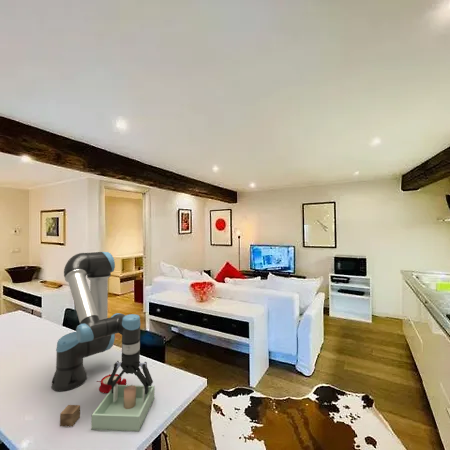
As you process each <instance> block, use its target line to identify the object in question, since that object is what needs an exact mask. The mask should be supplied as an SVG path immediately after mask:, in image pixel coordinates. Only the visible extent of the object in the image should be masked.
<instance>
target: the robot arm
mask: <svg viewBox="0 0 450 450" xmlns="http://www.w3.org/2000/svg"><path fill="white" fill-rule="evenodd" d="M115 262H116V261H115V259H114V256H113V255H112V254H111V252H109V251H97V252H95V251H94V252H79V253H76V254H74V255H73V256H72V257H70V258H69V259H68V260H67V262H66V264H64V265H65V266H64V268H63V276H64V280H65V281H66V282H67V283H68V287H69V289H70V292H71V296H72V300H73V303H74V308H75V310H76V315H77V317H78V321H79V325H77V326H76V328H75V331H73V332H69V333H67V334H64V335H63V336H61V337H60V338H59V339H58V340H57V342H56V348H55V349H56V350H55V351H56V358H55V359H56V360H55V361H56V363H55V365H56V366H55V372H54V375H53V377H52V380H51V390H53V391H55V392H67V391H70V390H71V391H72V390H74V389H76V388H78V387H80V386H82V385H83V384H84V383H85V382H86V380H87V377H88V376H87V371H86V368H85V365H84V359H85V358H87V357H91V356H94V355H97V354H99V353H104V352H106V351H108V350H111V348H112V347H113V346H114V344H115V337H116V336H115V335H116V334H119V335H121V362H120V361H119V360H117V361H115V363H114V364H113V370H112V372H111V373H110V374H111V376H110V378H109V380H108V382H107V385H111V386H112V390H111V392H112V393H113V402H115V401H116V400H117V399H118V383H116V382H117V381H118V380H119V379H120V377H121V378H122V376H123V375H124V374H126V375H129V374H131V375H135V376H136V377H137V379H139V381H140V383H141V384H142V386H144V387H143V401H142V403H144V402H145V400H146V394H147V393H148V391H149V386H153V383H154V381H153V380H154V379H153V378H152V375H151V373H150V371H149V368H148V362H147V361H144V362H141V361H140V354H141V351H140V350H141V349H140V348H141V317H140V315H139V314H135V313H133V314H132V313H130V314H126V315H125V314H123V313H118V312H117V313H114V314H113V315H111V317H108V295H109V294H108V293H109V292H108V291H109V290H108V288H109V286H108V279H109V278H110V277H111V273H113V272H114V270H115V268H116V263H115ZM87 279H88V280H89V283H90V284H88V281H87ZM89 285H90V286H89ZM119 368H121V369H122V370H121V372H119V374H118V377H117V378H116V379H115V380H114V381H112V380H113V378H114V376H115V374H117V371H118V369H119ZM141 370H142V371H141Z"/></svg>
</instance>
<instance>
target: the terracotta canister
mask: <svg viewBox="0 0 450 450" xmlns="http://www.w3.org/2000/svg"><path fill="white" fill-rule="evenodd" d="M135 405H136V386H133V384H131V386H127V387H126V388H125V389H124V408H125V409H131V408H133V407H134V406H135Z"/></svg>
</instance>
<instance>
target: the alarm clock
mask: <svg viewBox="0 0 450 450" xmlns="http://www.w3.org/2000/svg"><path fill="white" fill-rule="evenodd" d="M111 374H112V373H109V374H107V375H105V376H104V377H102V378H101V380H99V381H98V380H97V381H96V383H100V385H99V387H98V390H99V392H100V393H102V394H108V393H109V392H110V390H111V389H112V386H111V385H107V382H108V380H109V378H110V376H111ZM118 375H119V374H118V373H116V374H115V376H114V378H113V380H112V381H114V380H115V379H116V378H117V377H118ZM116 383H118V385H128V384H127V379H126V378H122V376H121V377H120V379H119V380H118V381H117V382H116Z"/></svg>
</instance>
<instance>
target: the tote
mask: <svg viewBox="0 0 450 450" xmlns="http://www.w3.org/2000/svg"><path fill="white" fill-rule="evenodd" d="M131 385H133V384H131ZM131 385H130V384H126V385H118V399H117V400H116V401H115V402H113V393H112V392H111V390H112V389H111V390H110V392H109V393H106V396H105V397H104V398H103V400H102V401H101V402H100V403H99V405H98V406H97V408H96V409H95V410H94V411H93V413H92V414H91V421H90V422H91V423H90V424H91V425H90V428H91V429H90V431H91V430H93V431H114V432H115V431H119V432H120V431H121V432H140V430H141V428H142V426H143V424H144V422H145V420H146V417H147V415H148V412H149V410H150V409H151V407H152V404H153V402H154V400H155V393H156V392H155V387H156V386H155V385H151V386H149V391H148V393H147V394H146V400H145V402H144V403H142V401H143V387H144V385H139V384H135V385H133V386H136V405H135V406H134V407H133V408H131V409H125V408H124V389H125V388H126V387H127V386H131Z"/></svg>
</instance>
